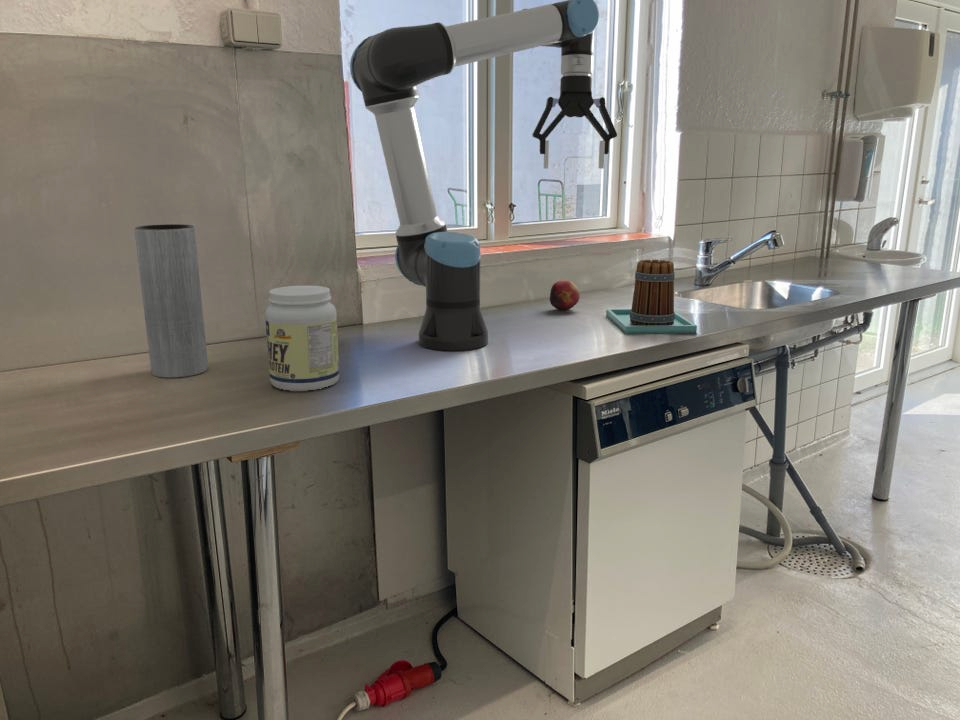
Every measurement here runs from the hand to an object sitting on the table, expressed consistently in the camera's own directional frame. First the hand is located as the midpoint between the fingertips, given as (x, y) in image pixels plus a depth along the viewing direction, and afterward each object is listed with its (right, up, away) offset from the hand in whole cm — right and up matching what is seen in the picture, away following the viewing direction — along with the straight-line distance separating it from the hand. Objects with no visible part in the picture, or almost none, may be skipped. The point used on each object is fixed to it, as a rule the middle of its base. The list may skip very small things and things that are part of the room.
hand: (573, 168), depth 180 cm
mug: (+19, -38, 0) cm, 42 cm away
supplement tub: (-54, -51, -48) cm, 89 cm away
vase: (-80, -49, -41) cm, 102 cm away
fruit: (0, -34, +16) cm, 38 cm away
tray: (+18, -38, 0) cm, 42 cm away
